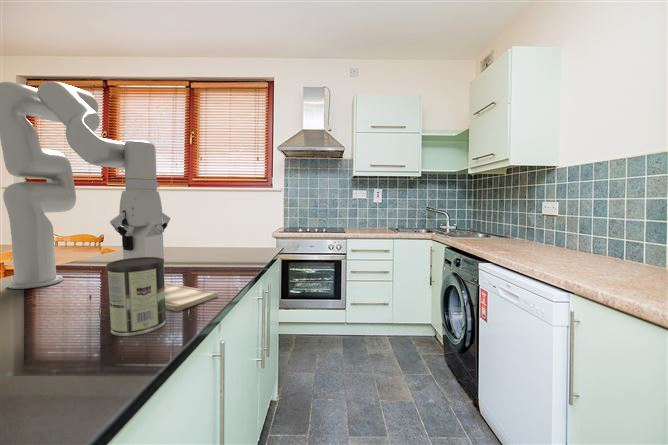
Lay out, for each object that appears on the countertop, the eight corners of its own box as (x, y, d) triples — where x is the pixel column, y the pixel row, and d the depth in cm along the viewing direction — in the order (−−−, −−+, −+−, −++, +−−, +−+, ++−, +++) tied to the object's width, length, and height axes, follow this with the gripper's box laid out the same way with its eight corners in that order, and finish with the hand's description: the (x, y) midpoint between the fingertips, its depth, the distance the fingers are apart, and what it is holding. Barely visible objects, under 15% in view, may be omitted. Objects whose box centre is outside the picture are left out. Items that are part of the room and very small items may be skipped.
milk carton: (146, 291, 86) (143, 222, 85) (124, 289, 88) (121, 222, 86) (164, 284, 93) (162, 220, 92) (144, 283, 95) (142, 220, 93)
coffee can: (142, 314, 74) (140, 255, 73) (177, 320, 71) (175, 258, 70) (97, 332, 64) (93, 264, 63) (134, 340, 61) (131, 268, 60)
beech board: (115, 297, 86) (115, 292, 86) (159, 285, 98) (159, 281, 98) (177, 311, 76) (177, 306, 76) (217, 296, 88) (217, 291, 88)
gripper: (160, 187, 98) (162, 243, 99) (99, 185, 82) (102, 251, 83) (177, 187, 95) (179, 244, 96) (117, 185, 79) (120, 253, 80)
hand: (143, 247), depth 90 cm, fingers closed on milk carton, 8 cm apart
